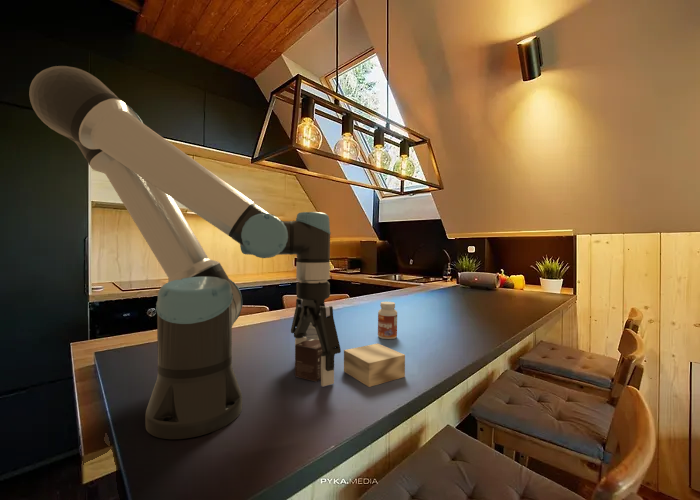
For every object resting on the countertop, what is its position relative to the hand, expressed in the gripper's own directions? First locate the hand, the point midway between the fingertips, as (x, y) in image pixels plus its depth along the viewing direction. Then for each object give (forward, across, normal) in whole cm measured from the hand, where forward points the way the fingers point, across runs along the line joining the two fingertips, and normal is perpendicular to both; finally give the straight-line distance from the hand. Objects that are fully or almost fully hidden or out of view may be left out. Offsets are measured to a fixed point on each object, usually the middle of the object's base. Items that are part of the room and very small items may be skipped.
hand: (313, 373), depth 75 cm
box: (0, 0, 0) cm, 0 cm away
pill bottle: (0, +15, -34) cm, 37 cm away
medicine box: (0, +15, -8) cm, 17 cm away
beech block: (0, -7, -12) cm, 14 cm away
